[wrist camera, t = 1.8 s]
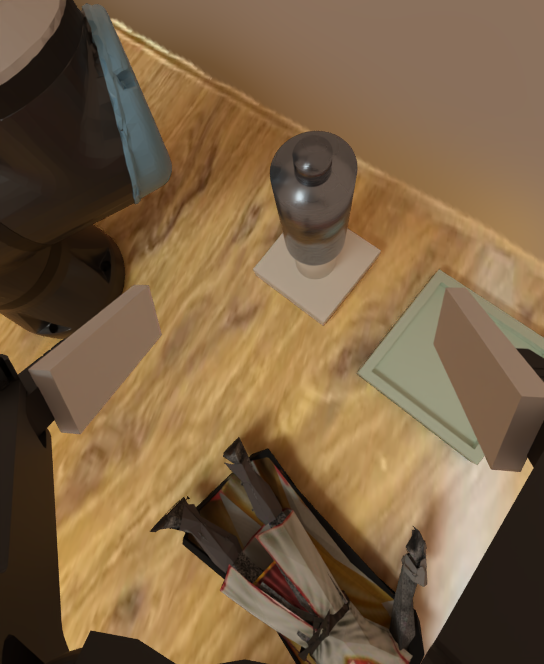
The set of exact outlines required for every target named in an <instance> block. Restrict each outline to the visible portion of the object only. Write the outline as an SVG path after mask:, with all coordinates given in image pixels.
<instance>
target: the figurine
mask: <svg viewBox="0 0 544 664" xmlns="http://www.w3.org/2000/svg"><path fill="white" fill-rule="evenodd" d="M223 457H225V459H228V460H229V461H231V462H232V463H234V464H228V463H224V464H226V465H227V466H228V467H229V469H230V470H231V471H232V472H233V473H231V474H230V475H229V476H228V477H227V478H226V479H225V480H224V481H223V482H222V483H221V484H220V485H219V486H218V487H217V488H216V489H215V490H214V491H213V492H212V493H211V494H210V495H209V496H208V497H207V498H206V499H204V500H203V501H202V502H201V503H200V504H199V505H198V506H197V507H195V505H194V504H188V503H187V501H186V500H187V499H190V498H189V497H188V496H187V499H185V498H184V497H183V498H182V499H181V500H179V501H178V502H177V503H178V504H177V503H176V504H177V505H176V504H175V505H176V506H175V505H174V506H175V507H174V506H173V507H174V508H173V507H172V508H173V509H172V508H171V509H172V510H171V509H170V510H171V511H170V510H169V511H170V512H169V511H168V512H169V513H168V512H167V513H168V514H167V513H166V514H167V515H166V514H165V515H164V516H163V517H162V518H161V519H160V521H159V522H158V523H157V524H156V525H155V526H154V527H153V528H152V529H151V531H150V532H156V531H158V530H160V529H166V528H170V529H171V528H172V529H176V530H180V531H184V532H185V535H184V537H183V545H184V546H185V547H186V548H188V549H189V550H190V551H191V552H192V553H194V554H195V555H196V556H197V557H198V558H199V559H201V560H202V561H203V562H204V563H205V564H207V565H208V566H209V567H210V568H211V569H213V570H214V571H215V572H216V573H217V574H219V575H220V576H221V577H222V578H223V579H225V580H224V582H223V584H222V587H221V589H220V591H221V592H222V593H224V594H225V595H226V596H228V597H229V598H231V599H232V600H233V601H235V602H236V603H237V604H239V605H240V606H241V607H243V608H244V609H245V610H247V611H248V612H249V613H251V614H252V615H254V616H255V617H257V618H258V619H260V620H261V621H263V622H264V623H265V624H267V625H268V626H270V627H271V628H273V629H274V630H276V631H277V633H278V635H279V636H280V638H281V639H282V641H283V643H284V644H285V646H286V648H287V649H288V651H289V653H290V654H291V656H292V658H293V659H294V661H295V663H296V664H420V663H421V661H422V659H423V656H424V648H423V641H422V634H421V627H420V621H419V618H418V616H417V613H416V610H415V609H414V608H413V596H414V593H415V589H416V586H417V584H419V585H421V586H423V587H425V586H426V585H427V571H426V568H427V566H426V549H427V547H426V543H425V541H424V540H423V538H422V536H421V534H420V532H419V531H418V530H417V529H416V528H415V527H414V526H413V527H414V529H415V530H412V537H411V538H410V540H409V542H408V544H407V545H406V548H407V550H408V551H409V553H407V554H405V556H404V557H403V558H402V559H401V560H402V564H403V565H402V569H401V573H400V577H399V581H398V585H397V589H396V593H395V592H394V591H393V590H392V589H391V588H390V587H389V586H387V585H386V584H385V583H384V582H383V581H382V580H381V579H379V578H378V577H377V576H376V575H375V574H374V573H373V572H372V571H371V569H370V568H369V567H368V566H367V565H366V564H365V563H364V562H363V561H362V560H361V558H360V557H359V556H358V555H357V554H356V553H355V552H354V551H353V550H352V549H351V547H350V546H349V545H348V544H347V543H346V542H345V541H344V540H343V539H342V538H341V536H340V535H339V534H338V533H337V532H336V531H335V530H334V529H333V528H332V527H331V525H330V524H329V523H328V522H327V521H326V520H325V519H324V518H323V517H322V516H321V514H320V513H319V512H318V511H317V510H316V509H315V508H314V507H313V506H312V505H311V503H310V502H309V501H308V500H307V499H306V498H305V497H304V496H303V495H302V494H301V492H300V491H299V490H298V489H297V487H296V486H295V485H294V483H293V482H292V481H291V479H290V478H289V476H288V475H287V474H286V472H285V471H284V469H283V468H282V467H281V465H280V464H279V463H278V461H277V460H276V458H275V457H274V456H273V454H272V453H271V452H270V450H269V449H265V450H262V451H260V452H257V453H254V454H252V455H251V456H250V457H248V455H247V453H246V450H245V448H244V446H243V444H242V442H241V440H240V438H239V437H238V438H237V439H236V440H235V441H234V442H233V443H232V444H231V445H230V446H229V447H228V448H227V450H226V451H225V452H224V455H223ZM300 498H301V499H300ZM302 501H303V502H304V503H305V505H306V506H307V507H308V508H307V507H306V506H305V505H304V503H303V502H302ZM188 538H189V539H188ZM408 551H407V552H408Z"/></svg>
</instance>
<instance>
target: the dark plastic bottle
mask: <svg viewBox="0 0 544 664" xmlns="http://www.w3.org/2000/svg"><path fill="white" fill-rule="evenodd" d="M356 176H357V160H356V156H355V154H354V152H353V150H352V148H351V147H350V146H349V144H348V143H347V142H345V141H344V140H343V139H342V138H340V137H339V136H337V135H335V134H332V133H329V132H323V131H310V132H305V133H301V134H299V135H296V136H294V137H292V138H291V139H289V140H288V141H287V142H285V143H284V144H283V145H282V146H281V147H280V148H279V150H278V151H277V152H276V154H275V156H274V158H273V160H272V163H271V167H270V180H271V184H272V189H273V193H274V197H275V201H276V206H277V210H278V214H279V218H280V223H281V227H282V231H283V235H284V239H285V244H286V247H287V250H288V252H289V253H290V255H291V256H292V257H293V258H294V259H296V260H297V261H299V262H300V263H303V264H306V265H312V266H316V265H322V264H325V263H328V262H330V261H331V260H333V259H334V258H335V257H337V255H338V254H339V253H340V252H341V250H342V248H343V246H344V243H345V238H346V233H347V227H348V221H349V216H350V210H351V204H352V199H353V193H354V187H355V182H356Z"/></svg>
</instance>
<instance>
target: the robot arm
mask: <svg viewBox="0 0 544 664" xmlns="http://www.w3.org/2000/svg"><path fill="white" fill-rule="evenodd" d="M171 172H172V163H171V160H170V157H169V154H168V152H167V149H166V147H165V145H164V142H163V140H162V137H161V135H160V133H159V130H158V128H157V126H156V123H155V121H154V118H153V116H152V114H151V111H150V109H149V107H148V104H147V102H146V100H145V98H144V95H143V93H142V91H141V88H140V86H139V84H138V81H137V79H136V77H135V74H134V72H133V70H132V67H131V65H130V63H129V60H128V58H127V56H126V53H125V51H124V49H123V47H122V44H121V42H120V40H119V37H118V35H117V33H116V31H115V29H114V27H113V24H112V22H111V20H110V17H109V15H108V13H107V11H106V10H105V8H104V7H102V6H101V5H98V4H95V5H92V6H91V5H89V4H87V3H86V4H85V5H84V6H82V11H80V10H79V9H78V8H77V6H76V4H75V3H74V1H73V0H0V313H1V314H2V315H4V316H5V317H7V318H8V319H10V320H12V321H13V322H15V323H16V324H18V325H19V326H21V327H22V328H24V329H26V330H27V331H29V332H32V333H34V334H37V335H41V336H46V337H52V338H58V339H63V340H61V341H60V342H59V343H57V344H56V345H55V346H54V347H52V348H51V350H48V351H47V352H46V353H45V354H43V356H41V357H40V358H38V359H37V360H36V361H35V362H33V363H32V364H31V365H29V366H28V367H27V368H26V369H24V370H23V371H22V372H21V373H19V374H17V373H16V371H15V369H14V367H13V365H12V363H11V362H10V360H9V358H8V356H7V355H3V354H0V664H175V663H174V662H172V661H171V660H169V659H167V658H166V657H164V656H163V655H161V654H160V653H158V652H157V651H155V650H154V649H152V648H151V647H149V646H147V645H146V644H144V643H143V642H141V641H140V640H138V639H133V638H128V637H123V636H117V635H112V634H107V633H101V632H96V631H90V633H89V635H88V637H87V639H86V641H85V643H84V645H83V648H79V649H76V650H73V651H70V652H69V649H68V646H67V644H66V641H65V638H64V635H63V630H62V623H61V605H60V587H59V569H58V551H57V533H56V515H55V497H54V479H53V461H52V444H51V434H50V432H49V430H48V429H47V427H48V426H49V425H50V424H51V423H52V422H53V421H54V420H55V422H56V424H57V426H58V428H59V429H60V431H61V432H63V433H74V434H81V433H82V432H83V430H84V429H85V428H86V427H87V426H88V424H89V423H90V422H91V421H92V419H93V418H94V417H95V416H96V415H97V413H98V412H99V411H100V410H101V409H102V407H103V406H104V405H105V404H106V402H107V401H108V400H109V399H110V398H111V396H112V395H113V394H114V393H115V391H116V390H117V389H118V388H119V387H120V385H121V384H122V383H123V382H124V380H125V379H126V378H127V377H128V376H129V374H130V373H131V372H132V371H133V369H134V368H135V367H136V366H137V365H138V363H139V362H140V361H141V360H142V358H143V357H144V356H145V355H146V354H147V352H148V351H149V350H150V349H151V347H152V346H153V345H154V344H155V343H156V341H157V340H158V339H159V338H160V336H161V335H162V334H161V330H160V326H159V323H158V319H157V315H156V311H155V307H154V303H153V299H152V296H151V292H150V288H149V285H133V286H132V287H131V288H129V289H128V290H127V291H126V292H124V293H123V294H122V295H121V293H122V290H123V286H124V280H125V267H124V261H123V257H122V255H121V252H120V250H119V248H118V246H117V245H116V243H115V242H114V241H113V240H112V239H111V237H109V236H108V235H107V234H106V233H104V232H103V231H102V230H100V229H99V228H97V227H96V226H94V225H93V224H94V223H96V222H98V221H100V220H102V219H104V218H106V217H108V216H110V215H112V214H114V213H116V212H118V211H120V210H122V209H124V208H126V207H128V206H129V205H131V204H133V203H134V204H138V203H139V202H140V201H141V198H143V197H145V196H146V195H148V194H150V193H151V192H153V191H155V190H157V189H158V188H160V187H162V186H163V185H165V184H166V183H167V182H168V180H169V178H170V175H171ZM433 344H434V347H435V349H436V351H437V353H438V355H439V357H440V360H441V362H442V364H443V366H444V368H445V371H446V373H447V375H448V377H449V379H450V381H451V384H452V386H453V388H454V390H455V392H456V394H457V397H458V399H459V401H460V403H461V405H462V407H463V410H464V412H465V414H466V416H467V418H468V420H469V423H470V425H471V427H472V429H473V431H474V434H475V436H476V438H477V440H478V442H479V444H480V447H481V449H482V451H483V453H484V455H485V457H486V460H487V462H488V464H489V466H490V468H491V469H492V470H503V471H515V472H521V470H522V468H523V466H524V464H525V462H526V460H527V458H528V459H529V460H530V462H531V464H532V466H533V467H534V468H533V470H532V472H531V474H530V475H529V477H528V479H527V481H526V482H525V484H524V486H523V488H522V489H521V491H520V493H519V495H518V496H517V498H516V500H515V502H514V504H513V505H512V507H511V509H510V511H509V512H508V514H507V516H506V518H505V519H504V521H503V523H502V525H501V526H500V528H499V530H498V532H497V533H496V535H495V537H494V539H493V540H492V542H491V544H490V546H489V547H488V549H487V551H486V553H485V554H484V556H483V558H482V560H481V561H480V563H479V565H478V567H477V568H476V570H475V572H474V574H473V575H472V577H471V579H470V581H469V582H468V584H467V586H466V588H465V589H464V591H463V593H462V595H461V596H460V598H459V600H458V602H457V603H456V605H455V607H454V609H453V611H452V612H451V614H450V616H449V618H448V619H447V621H446V623H445V625H444V626H443V628H442V630H441V632H440V633H439V635H438V637H437V638H436V640H435V642H434V643H433V645H432V646H431V647H430V649H429V651H428V652H427V654H426V655H425V657H424V659H423V661H422V662H421V664H544V358H543V357H541V356H540V355H538V354H536V353H535V352H533V351H531V350H530V349H524V348H515V347H514V346H513V344H512V343H511V342H510V341H509V340H508V338H507V337H506V336H505V335H504V334H503V332H502V331H501V330H500V329H499V327H498V326H497V325H496V324H495V323H494V321H493V320H492V319H491V318H490V316H489V315H488V314H487V313H486V312H485V310H484V309H483V308H482V307H481V306H480V304H479V303H478V302H477V301H476V299H475V298H474V297H473V296H472V295H471V293H470V292H469V291H468V290H467V288H446V289H445V293H444V298H443V302H442V307H441V311H440V316H439V320H438V325H437V329H436V334H435V338H434V343H433ZM221 664H266V663H261V662H256V661H250V660H239V661H233V662H227V663H221Z"/></svg>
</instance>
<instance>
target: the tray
mask: <svg viewBox="0 0 544 664" xmlns="http://www.w3.org/2000/svg"><path fill="white" fill-rule="evenodd" d="M446 288H467V287H466V286H464V285H463V284H461V283H459V282H458V281H456V280H455V279H453V278H452V277H450V276H449V275H447V274H446V273H444V272H443V271H441V270H440V269H439V270H438V271H437V272H436V273H435V274H434V275H433V276H432V278H431V279H430V280H429V281H428V283H427V284H426V285H425V286H424V288H423V289H422V290H421V292H420V293H419V294H418V295H417V297H416V298H415V299H414V300H413V302H412V303H411V304H410V306H409V307H408V308H407V309H406V311H405V312H404V313H403V314H402V316H401V317H400V318H399V320H398V321H397V322H396V323H395V325H394V326H393V327H392V328H391V330H390V331H389V332H388V334H387V335H386V336H385V337H384V339H383V340H382V341H381V342H380V344H379V345H378V346H377V348H376V349H375V350H374V351H373V353H372V354H371V355H370V356H369V358H368V359H367V360H366V362H365V363H364V364H363V365H362V367H361V368H360V369H359V370H358V372H357V373H356V374H357V375H359V376H360V377H361V378H363V379H364V380H365V381H367V382H368V383H369V384H370V385H372V386H373V387H374V388H376V389H377V390H378V391H380V392H381V393H382V394H383V395H385V396H386V397H387V398H389V399H390V400H391V401H392V402H394V403H395V404H396V405H398V406H399V407H400V408H402V409H403V410H404V411H405V412H407V413H408V414H409V415H411V416H412V417H413V418H415V419H416V420H417V421H418V422H420V423H421V424H422V425H424V426H425V427H426V428H428V429H429V430H430V431H431V432H433V433H434V434H435V435H437V436H438V437H439V438H440V439H442V440H443V441H444V442H446V443H447V444H448V445H450V446H451V447H452V448H453V449H455V450H456V451H457V452H459V453H460V454H461V455H463V456H464V457H465V458H466V459H468V460H469V461H470V462H472V463H474V464H476V465H478V464H479V462H480V461H481V460H482V459H483V457H484V456H485V455H484V453H483V451H482V449H481V447H480V444H479V442H478V440H477V438H476V436H475V434H474V431H473V429H472V427H471V425H470V423H469V420H468V418H467V416H466V414H465V412H464V410H463V407H462V405H461V403H460V401H459V399H458V397H457V394H456V392H455V390H454V388H453V386H452V384H451V381H450V379H449V377H448V375H447V373H446V371H445V368H444V366H443V364H442V362H441V360H440V357H439V355H438V353H437V351H436V349H435V347H434V344H433V343H434V338H435V334H436V329H437V325H438V320H439V316H440V311H441V307H442V302H443V298H444V293H445V289H446ZM467 290H468V291H469V292H470V293H471V295H472V296H473V297H474V298H475V299H476V301H477V302H478V303H479V304H480V306H481V307H482V308H483V309H484V310H485V312H486V313H487V314H488V315H489V316H490V318H491V319H492V320H493V321H494V323H495V324H496V325H497V326H498V327H499V329H500V330H501V331H502V332H503V334H504V335H505V336H506V337H507V338H508V340H509V341H510V342H511V343H512V344H513V346H514V347H515V348H524V349H530V350H531V351H533V352H535V353H536V354H538V355H540V356H541V357H543V358H544V337H542V336H540V335H539V334H537V333H536V332H534V331H533V330H531V329H530V328H528V327H527V326H525V325H524V324H522V323H521V322H519V321H518V320H516V319H514V318H513V317H511V316H510V315H508V314H507V313H505V312H504V311H502V310H501V309H499V308H498V307H496V306H495V305H493V304H492V303H490V302H489V301H487V300H485V299H484V298H482V297H481V296H479V295H478V294H476V293H475V292H473V291H472V290H470V289H469V288H467Z"/></svg>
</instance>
